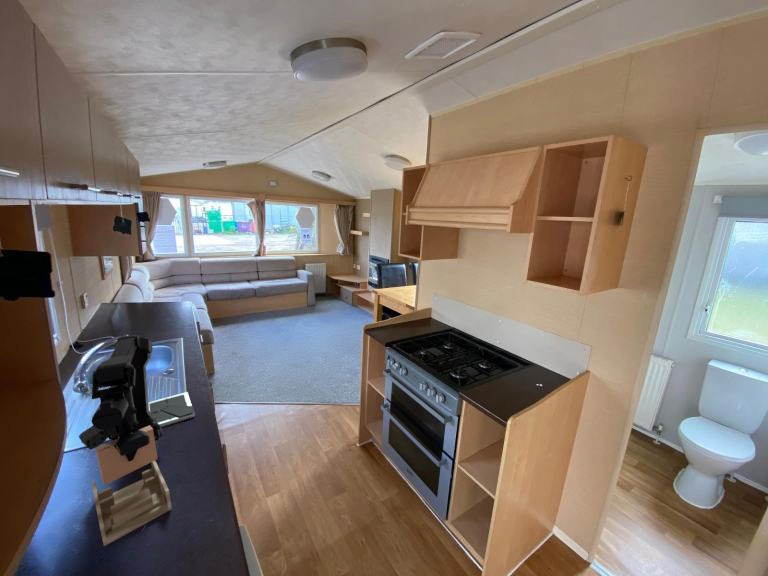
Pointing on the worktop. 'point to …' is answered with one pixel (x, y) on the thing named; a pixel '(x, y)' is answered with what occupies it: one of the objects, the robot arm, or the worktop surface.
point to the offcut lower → (155, 504)
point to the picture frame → (172, 409)
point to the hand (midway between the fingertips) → (129, 458)
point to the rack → (108, 499)
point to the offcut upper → (131, 506)
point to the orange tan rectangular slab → (124, 458)
